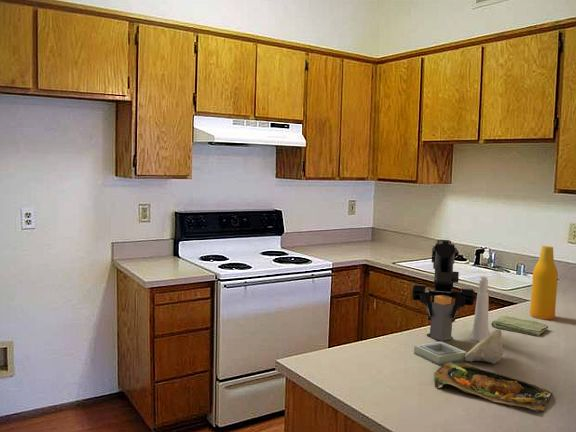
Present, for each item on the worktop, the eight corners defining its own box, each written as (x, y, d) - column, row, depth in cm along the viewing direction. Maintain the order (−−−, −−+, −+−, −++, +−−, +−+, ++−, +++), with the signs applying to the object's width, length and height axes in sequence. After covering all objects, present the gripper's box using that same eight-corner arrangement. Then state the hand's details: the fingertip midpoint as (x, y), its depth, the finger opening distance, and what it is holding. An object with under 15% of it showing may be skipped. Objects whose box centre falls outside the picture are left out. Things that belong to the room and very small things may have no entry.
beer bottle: (559, 320, 212) (564, 248, 209) (535, 319, 212) (540, 247, 209) (548, 314, 221) (553, 245, 218) (525, 313, 221) (530, 244, 219)
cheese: (483, 377, 154) (524, 346, 154) (466, 356, 156) (506, 325, 156) (473, 374, 169) (510, 345, 169) (458, 355, 171) (494, 327, 171)
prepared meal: (554, 379, 140) (542, 401, 125) (553, 392, 140) (542, 415, 126) (449, 359, 156) (427, 376, 141) (448, 371, 156) (427, 389, 141)
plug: (430, 336, 165) (432, 295, 164) (439, 334, 167) (442, 294, 166) (441, 340, 161) (443, 299, 160) (451, 338, 164) (453, 297, 163)
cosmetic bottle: (493, 341, 182) (497, 278, 180) (478, 342, 180) (482, 278, 178) (482, 336, 188) (485, 274, 186) (467, 337, 186) (471, 275, 184)
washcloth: (540, 338, 188) (541, 329, 188) (489, 328, 199) (490, 320, 199) (548, 330, 199) (549, 322, 198) (500, 321, 209) (500, 313, 209)
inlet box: (414, 353, 167) (414, 345, 167) (440, 348, 172) (440, 341, 172) (438, 365, 157) (439, 356, 157) (465, 360, 162) (466, 351, 162)
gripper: (414, 259, 169) (410, 301, 159) (476, 263, 164) (476, 307, 154) (414, 278, 177) (410, 320, 167) (473, 283, 172) (473, 326, 162)
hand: (441, 318), depth 162 cm, fingers closed on plug, 6 cm apart
